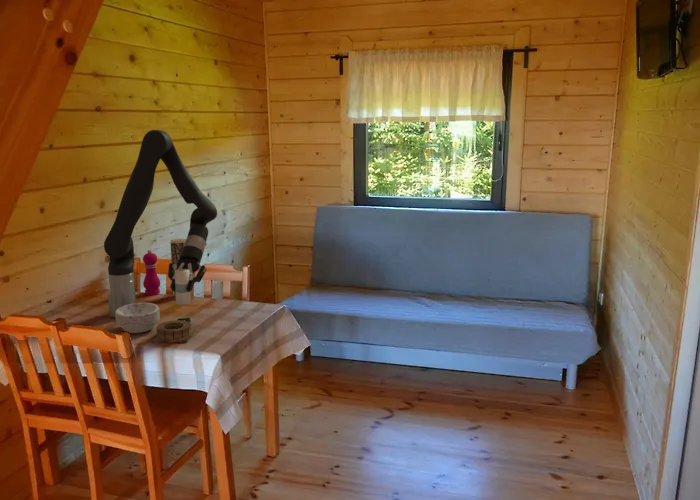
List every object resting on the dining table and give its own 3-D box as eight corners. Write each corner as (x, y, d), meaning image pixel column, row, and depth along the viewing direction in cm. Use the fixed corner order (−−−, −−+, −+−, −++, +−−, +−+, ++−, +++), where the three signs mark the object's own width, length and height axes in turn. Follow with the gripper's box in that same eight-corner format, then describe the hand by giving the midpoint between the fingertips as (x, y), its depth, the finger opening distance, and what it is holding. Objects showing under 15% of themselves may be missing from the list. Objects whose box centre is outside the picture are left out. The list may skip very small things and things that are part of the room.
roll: (174, 304, 204) (172, 271, 202) (177, 300, 209) (176, 268, 207) (188, 305, 205) (187, 272, 202) (192, 300, 210) (191, 268, 207)
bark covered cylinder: (185, 299, 250) (182, 242, 244) (170, 297, 251) (167, 241, 246) (192, 294, 256) (189, 239, 251) (178, 293, 258) (175, 238, 252)
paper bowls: (136, 339, 203) (135, 318, 202) (107, 331, 211) (105, 311, 209) (169, 326, 216) (168, 306, 215) (140, 319, 224) (139, 300, 222)
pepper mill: (140, 294, 255) (137, 250, 251) (151, 290, 262) (148, 247, 258) (153, 296, 253) (150, 252, 248) (164, 292, 259) (161, 248, 255)
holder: (152, 342, 201) (151, 331, 200) (162, 330, 212) (161, 320, 211) (186, 342, 201) (186, 331, 200) (195, 330, 213) (194, 320, 212)
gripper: (171, 243, 211) (157, 284, 202) (208, 245, 209) (196, 286, 200) (178, 254, 217) (164, 294, 208) (214, 256, 215) (203, 297, 206)
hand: (180, 290), depth 204 cm, fingers closed on roll, 5 cm apart
